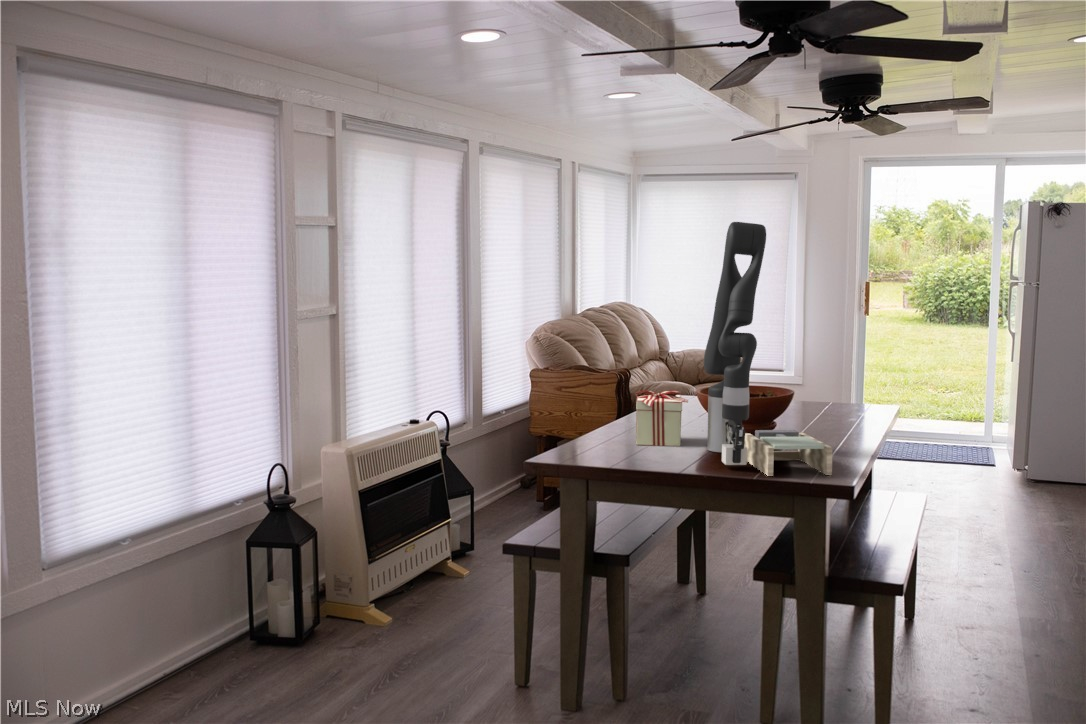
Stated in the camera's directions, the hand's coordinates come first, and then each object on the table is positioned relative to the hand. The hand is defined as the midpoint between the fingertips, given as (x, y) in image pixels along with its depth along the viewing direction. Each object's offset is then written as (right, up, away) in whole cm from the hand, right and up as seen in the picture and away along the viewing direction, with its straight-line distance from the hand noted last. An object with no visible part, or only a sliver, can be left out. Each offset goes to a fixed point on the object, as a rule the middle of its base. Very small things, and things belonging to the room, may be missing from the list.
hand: (734, 460), depth 272 cm
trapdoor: (+15, +3, +1) cm, 16 cm away
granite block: (0, -1, 0) cm, 1 cm away
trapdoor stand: (+15, -2, +2) cm, 16 cm away
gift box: (-16, +1, +41) cm, 44 cm away
